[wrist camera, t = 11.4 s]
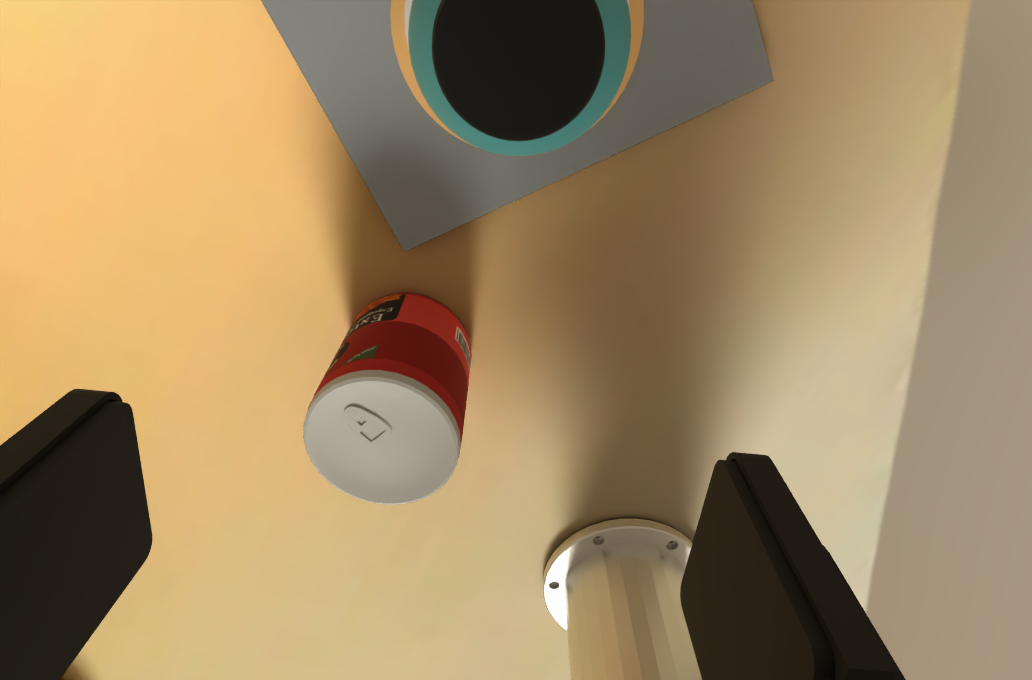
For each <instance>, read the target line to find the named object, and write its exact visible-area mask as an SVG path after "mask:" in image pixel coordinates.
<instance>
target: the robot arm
mask: <svg viewBox="0 0 1032 680" xmlns="http://www.w3.org/2000/svg"><path fill="white" fill-rule="evenodd" d="M151 545H152V531H151V524H150V518H149V512H148V506H147V499H146V493H145V487H144V480H143V474H142V468H141V461H140V455H139V449H138V443H137V436H136V430H135V424H134V417H133V412H132V408H131V406H130V405H129V404H127V403H124V402H122V399H121V397H120V396H119V395H118V394H116V393H115V392H106V391H95V390H85V389H74V390H72V391H70V392H68V393H67V394H66V395H65V396H63V397H62V398H61V399H59V400H58V401H57V402H56V403H54V404H53V405H52V406H50V407H49V408H48V409H47V410H45V411H44V412H43V413H41V414H40V415H39V416H38V417H36V418H35V419H34V420H33V421H31V422H30V423H29V424H27V425H26V426H25V427H24V428H22V429H21V430H20V431H18V432H17V433H16V434H15V435H13V436H12V437H11V438H9V439H8V440H7V441H6V442H4V443H3V444H2V445H1V446H0V680H60V678H61V677H62V676H63V674H64V673H65V672H66V670H67V669H68V667H69V666H70V665H71V663H72V662H73V660H74V659H75V658H76V656H77V655H78V653H79V652H80V651H81V649H82V648H83V647H84V645H85V644H86V642H87V641H88V640H89V638H90V637H91V635H92V634H93V633H94V631H95V630H96V628H97V627H98V626H99V624H100V623H101V622H102V620H103V619H104V617H105V616H106V615H107V613H108V612H109V610H110V609H111V608H112V606H113V605H114V604H115V602H116V601H117V599H118V598H119V597H120V595H121V594H122V592H123V591H124V590H125V588H126V587H127V585H128V584H129V583H130V581H131V580H132V579H133V577H134V576H135V574H136V573H137V572H138V570H139V569H140V567H141V566H142V565H143V563H144V562H145V560H146V559H147V557H148V555H149V552H150V549H151ZM543 590H544V599H545V602H546V605H547V608H548V610H549V611H550V613H551V615H552V616H553V618H554V619H555V620H556V621H557V622H558V623H559V624H560V625H561V626H562V627H563V628H565V629H566V630H567V636H568V648H569V659H570V671H571V680H905V678H904V676H903V675H902V673H901V671H900V670H899V668H898V666H897V665H896V663H895V661H894V660H893V658H892V656H891V655H890V653H889V651H888V650H887V648H886V646H885V645H884V643H883V641H882V640H881V638H880V636H879V635H878V633H877V631H876V630H875V628H874V626H873V625H872V623H871V621H870V620H869V618H868V617H867V615H866V613H865V611H864V610H863V608H862V606H861V605H860V603H859V601H858V600H857V598H856V596H855V595H854V593H853V591H852V590H851V588H850V586H849V585H848V583H847V581H846V580H845V578H844V576H843V575H842V573H841V571H840V570H839V568H838V566H837V565H836V563H835V561H834V560H833V558H832V556H831V555H830V553H829V552H828V551H827V549H826V548H825V547H824V546H823V545H822V544H821V542H820V540H819V539H818V537H817V535H816V534H815V532H814V530H813V529H812V527H811V525H810V524H809V522H808V520H807V518H806V517H805V515H804V513H803V512H802V510H801V508H800V507H799V505H798V503H797V502H796V500H795V498H794V497H793V495H792V493H791V492H790V490H789V488H788V487H787V485H786V483H785V482H784V480H783V478H782V477H781V475H780V473H779V472H778V470H777V468H776V466H775V465H774V463H773V461H772V460H771V459H770V458H769V456H766V455H758V454H747V453H737V452H732V453H730V454H729V455H728V457H727V459H726V460H719V461H717V463H716V464H715V467H714V470H713V473H712V477H711V480H710V484H709V487H708V491H707V494H706V498H705V501H704V505H703V508H702V512H701V515H700V519H699V522H698V526H697V529H696V533H695V536H694V540H693V543H692V542H691V541H690V540H689V539H688V538H687V537H686V536H684V535H683V534H682V533H681V532H679V531H677V530H675V529H673V528H671V527H669V526H668V525H665V524H661V523H658V522H655V521H650V520H643V519H616V520H610V521H604V522H601V523H598V524H594V525H591V526H588V527H586V528H584V529H582V530H580V531H578V532H576V533H575V534H573V535H572V536H570V537H569V538H568V539H566V540H565V541H564V542H563V543H562V544H561V545H560V546H559V547H558V548H557V549H556V550H555V551H554V552H553V554H552V556H551V557H550V559H549V560H548V562H547V565H546V568H545V571H544V578H543Z"/></svg>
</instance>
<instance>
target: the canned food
mask: <svg viewBox="0 0 1032 680" xmlns="http://www.w3.org/2000/svg"><path fill="white" fill-rule="evenodd" d="M470 365H471V346H470V342H469V339H468V336H467V334H466V332H465V330H464V328H463V326H462V325H461V323H460V321H459V320H458V319H457V318H456V316H455V315H454V314H453V313H452V312H451V311H450V310H449V309H448V308H446V307H445V306H444V305H442V304H441V303H439V302H437V301H436V300H434V299H431V298H429V297H426V296H423V295H418V294H413V293H398V294H392V295H388V296H385V297H383V298H380V299H378V300H375V301H373V302H372V303H371V304H369V305H368V306H366V307H365V308H364V309H363V310H362V311H361V312H360V313H359V314H358V315H357V317H356V318H355V320H354V322H353V324H352V326H351V327H350V329H349V331H348V333H347V335H346V337H345V339H344V340H343V342H342V344H341V346H340V348H339V350H338V352H337V353H336V355H335V357H334V359H333V361H332V363H331V365H330V367H329V368H328V370H327V372H326V374H325V376H324V378H323V380H322V381H321V383H320V385H319V387H318V389H317V391H316V393H315V394H314V397H313V399H312V401H311V403H310V405H309V407H308V411H307V414H306V418H305V422H304V428H303V438H304V443H305V447H306V451H307V453H308V455H309V457H310V460H311V462H312V463H313V465H314V466H315V467H316V469H317V470H318V472H319V473H320V474H321V475H322V476H323V477H324V478H325V479H326V480H327V481H328V482H329V483H330V484H332V485H333V486H335V487H336V488H338V489H339V490H341V491H342V492H344V493H346V494H348V495H350V496H352V497H354V498H357V499H360V500H363V501H367V502H370V503H377V504H383V505H400V504H406V503H412V502H415V501H418V500H421V499H424V498H426V497H428V496H430V495H431V494H433V493H435V492H436V491H438V490H439V489H440V488H441V487H442V486H443V485H444V484H446V482H447V481H448V479H449V478H450V477H451V475H452V474H453V471H454V469H455V466H456V464H457V460H458V458H459V453H460V447H461V441H462V434H463V426H464V417H465V409H466V400H467V391H468V383H469V374H470Z"/></svg>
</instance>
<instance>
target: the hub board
mask: <svg viewBox="0 0 1032 680" xmlns="http://www.w3.org/2000/svg"><path fill="white" fill-rule="evenodd" d="M261 1H262V3H263V5H264V7H265V8H266V10H267V12H268V14H269V15H270V17H271V19H272V21H273V22H274V24H275V26H276V28H277V29H278V31H279V33H280V35H281V36H282V38H283V40H284V42H285V43H286V45H287V47H288V49H289V50H290V52H291V54H292V56H293V57H294V59H295V61H296V63H297V65H298V66H299V68H300V70H301V72H302V73H303V75H304V77H305V79H306V80H307V82H308V84H309V86H310V87H311V89H312V91H313V93H314V94H315V96H316V98H317V100H318V101H319V103H320V105H321V107H322V108H323V110H324V112H325V114H326V115H327V117H328V119H329V121H330V122H331V124H332V126H333V128H334V129H335V131H336V133H337V135H338V137H339V138H340V140H341V142H342V144H343V145H344V147H345V149H346V151H347V152H348V154H349V156H350V158H351V159H352V161H353V163H354V165H355V166H356V168H357V170H358V172H359V173H360V175H361V177H362V179H363V180H364V182H365V184H366V186H367V187H368V189H369V191H370V193H371V194H372V196H373V198H374V200H375V201H376V203H377V205H378V207H379V209H380V210H381V212H382V214H383V216H384V217H385V219H386V221H387V223H388V224H389V226H390V228H391V230H392V231H393V233H394V235H395V237H396V238H397V240H398V242H399V244H400V245H401V247H402V249H403V251H404V252H405V251H407V250H409V249H412V248H414V247H416V246H418V245H420V244H422V243H425V242H427V241H429V240H431V239H433V238H435V237H438V236H440V235H442V234H444V233H446V232H448V231H450V230H453V229H455V228H457V227H459V226H461V225H463V224H466V223H468V222H470V221H472V220H474V219H476V218H479V217H481V216H483V215H485V214H487V213H489V212H491V211H494V210H496V209H498V208H500V207H502V206H504V205H507V204H509V203H511V202H513V201H515V200H517V199H520V198H522V197H524V196H526V195H528V194H530V193H532V192H535V191H537V190H539V189H541V188H543V187H545V186H548V185H550V184H552V183H554V182H556V181H558V180H561V179H563V178H565V177H567V176H569V175H571V174H573V173H576V172H578V171H580V170H582V169H584V168H586V167H589V166H591V165H593V164H595V163H597V162H599V161H602V160H604V159H606V158H608V157H610V156H612V155H614V154H617V153H619V152H621V151H623V150H625V149H627V148H630V147H632V146H634V145H636V144H638V143H640V142H643V141H645V140H647V139H649V138H651V137H653V136H655V135H658V134H660V133H662V132H664V131H666V130H668V129H671V128H673V127H675V126H677V125H679V124H681V123H684V122H686V121H688V120H690V119H692V118H694V117H696V116H699V115H701V114H703V113H705V112H707V111H709V110H712V109H714V108H716V107H718V106H720V105H722V104H725V103H727V102H729V101H731V100H733V99H735V98H737V97H740V96H742V95H744V94H746V93H748V92H750V91H753V90H755V89H757V88H759V87H761V86H763V85H766V84H768V83H770V82H772V81H774V80H773V76H772V73H771V69H770V65H769V62H768V58H767V54H766V51H765V47H764V43H763V39H762V36H761V32H760V28H759V25H758V21H757V17H756V14H755V10H754V6H753V3H752V0H627V3H628V6H629V13H630V19H631V45H630V54H629V59H628V64H627V68H626V71H625V74H624V78H623V81H622V83H621V85H620V87H619V90H618V92H617V94H616V96H615V97H614V99H613V101H612V103H611V104H610V106H609V107H608V109H607V110H606V111H605V113H604V114H603V115H602V117H601V118H600V119H599V120H598V121H597V122H596V123H595V124H594V125H593V126H592V127H591V128H590V129H589V130H587V131H586V132H585V133H584V134H583V135H581V136H580V137H578V138H577V139H575V140H574V141H572V142H570V143H568V144H566V145H564V146H562V147H560V148H558V149H555V150H552V151H549V152H546V153H541V154H536V155H529V156H507V155H501V154H496V153H492V152H489V151H486V150H482V149H480V148H478V147H476V146H474V145H471V144H469V143H468V142H466V141H465V140H463V139H461V138H460V137H458V136H457V135H456V134H455V133H453V132H452V131H451V130H450V129H448V128H447V127H446V126H445V125H444V124H443V123H442V122H441V120H440V119H439V118H438V117H437V116H436V115H435V113H434V112H433V111H432V109H431V108H430V107H429V105H428V103H427V102H426V100H425V98H424V96H423V95H422V93H421V90H420V88H419V86H418V84H417V81H416V78H415V75H414V72H413V69H412V65H411V60H410V54H409V43H408V27H409V16H410V11H411V5H412V1H413V0H261Z"/></svg>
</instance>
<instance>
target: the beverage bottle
mask: <svg viewBox="0 0 1032 680" xmlns="http://www.w3.org/2000/svg"><path fill="white" fill-rule="evenodd" d="M408 43H409V54H410V60H411V65H412V69H413V72H414V75H415V78H416V81H417V84H418V86H419V88H420V90H421V93H422V95H423V96H424V98H425V100H426V102H427V103H428V105H429V107H430V108H431V109H432V111H433V112H434V113H435V115H436V116H437V117H438V118H439V119H440V120H441V122H442V123H443V124H444V125H445V126H446V127H447V128H448V129H450V130H451V131H452V132H453V133H455V134H456V135H457V136H458V137H460V138H461V139H463V140H465V141H466V142H468V143H469V144H471V145H474V146H476V147H478V148H480V149H482V150H486V151H489V152H492V153H496V154H501V155H507V156H529V155H536V154H541V153H546V152H549V151H552V150H555V149H558V148H560V147H562V146H564V145H566V144H568V143H570V142H572V141H574V140H575V139H577V138H578V137H580V136H581V135H583V134H584V133H585V132H586V131H587V130H589V129H590V128H591V127H592V126H593V125H594V124H595V123H596V122H597V121H598V120H599V119H600V118H601V117H602V115H603V114H604V113H605V111H606V110H607V109H608V107H609V106H610V104H611V103H612V101H613V99H614V97H615V96H616V94H617V92H618V90H619V87H620V85H621V83H622V81H623V78H624V74H625V71H626V68H627V64H628V59H629V54H630V45H631V19H630V13H629V6H628V3H627V0H413V1H412V5H411V11H410V16H409V27H408Z"/></svg>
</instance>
